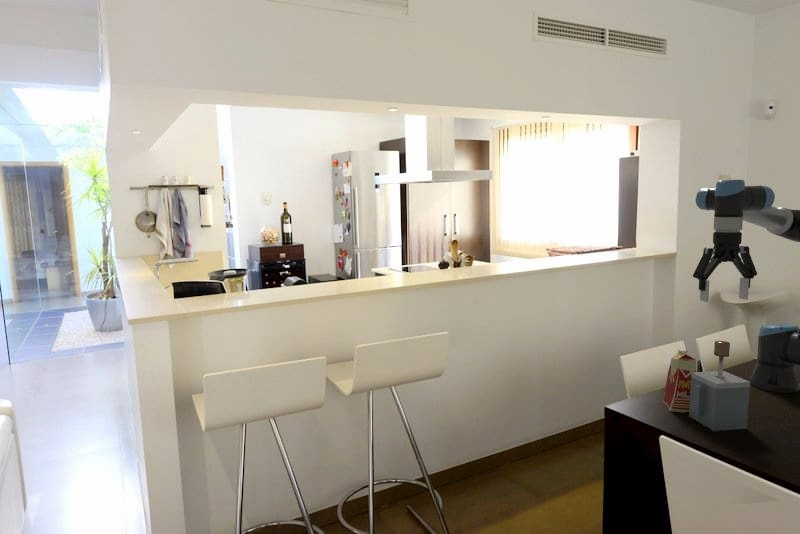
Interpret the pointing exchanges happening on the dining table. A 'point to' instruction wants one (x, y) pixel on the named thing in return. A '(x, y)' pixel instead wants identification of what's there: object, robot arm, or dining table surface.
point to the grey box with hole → (719, 400)
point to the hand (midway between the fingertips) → (723, 300)
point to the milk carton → (679, 382)
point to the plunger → (721, 354)
